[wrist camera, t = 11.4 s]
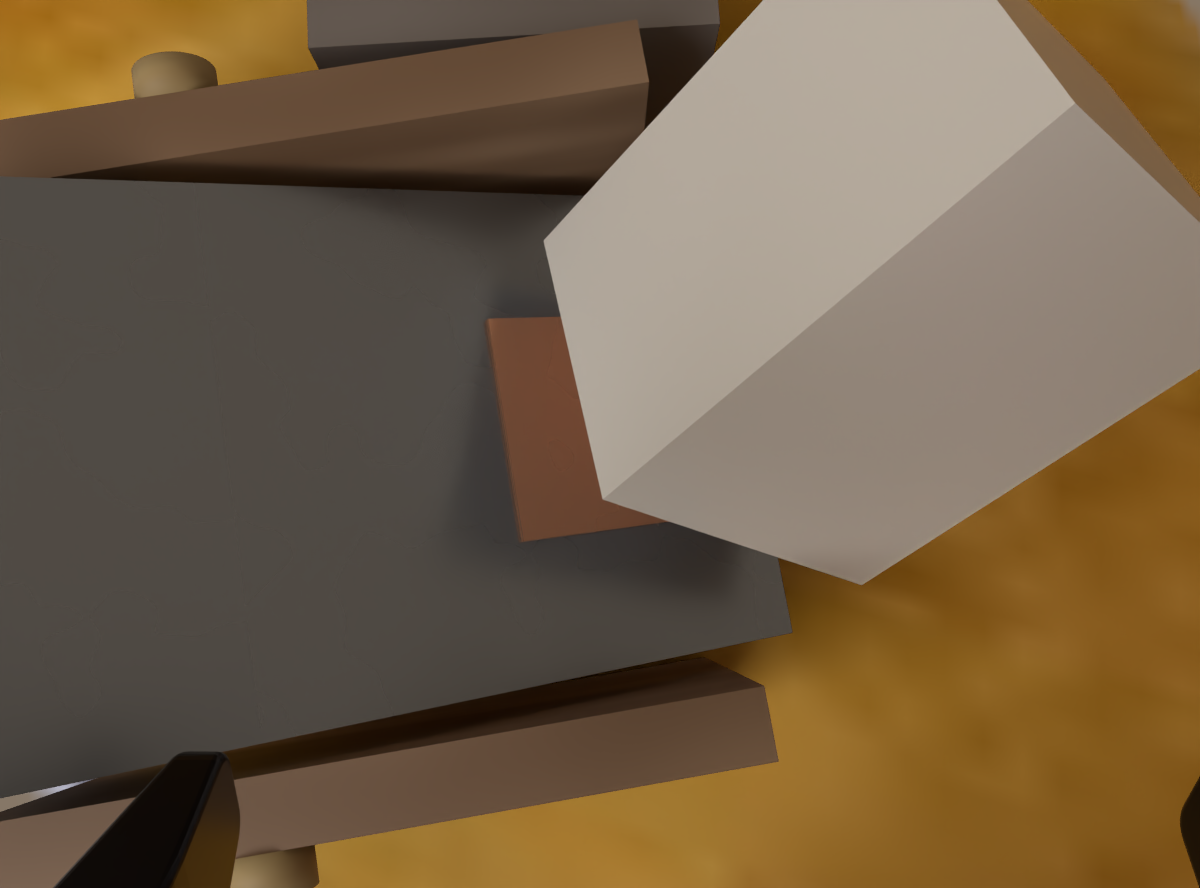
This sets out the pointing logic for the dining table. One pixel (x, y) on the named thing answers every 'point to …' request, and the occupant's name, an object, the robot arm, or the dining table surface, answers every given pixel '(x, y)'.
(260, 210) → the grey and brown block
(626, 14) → the stand
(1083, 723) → the dining table surface
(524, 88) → the frame
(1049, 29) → the off-white block
